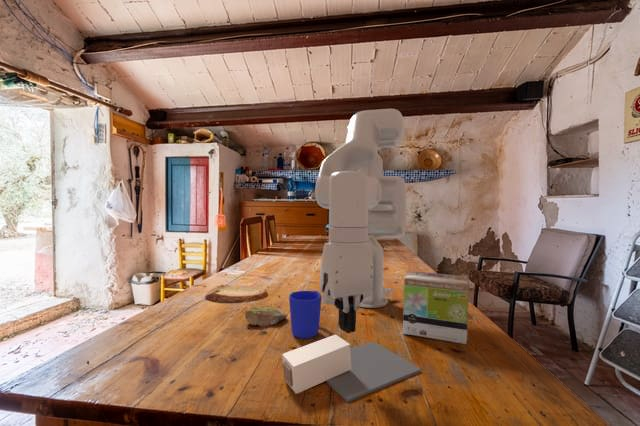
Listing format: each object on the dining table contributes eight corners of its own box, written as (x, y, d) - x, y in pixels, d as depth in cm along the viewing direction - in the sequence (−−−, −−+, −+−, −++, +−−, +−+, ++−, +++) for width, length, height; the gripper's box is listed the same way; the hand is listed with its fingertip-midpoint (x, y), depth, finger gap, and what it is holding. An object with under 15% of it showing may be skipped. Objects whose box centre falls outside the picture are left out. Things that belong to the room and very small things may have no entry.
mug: (329, 324, 82) (330, 288, 82) (314, 343, 71) (315, 301, 70) (302, 320, 85) (302, 285, 84) (283, 338, 73) (283, 298, 73)
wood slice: (272, 295, 109) (272, 285, 109) (230, 309, 94) (230, 297, 94) (241, 287, 120) (241, 278, 120) (199, 297, 106) (199, 287, 105)
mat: (373, 343, 71) (373, 341, 71) (420, 372, 59) (420, 369, 59) (306, 364, 61) (306, 361, 61) (347, 402, 49) (347, 399, 49)
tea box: (402, 335, 75) (403, 277, 75) (405, 321, 85) (406, 269, 84) (468, 345, 70) (469, 283, 70) (463, 329, 80) (464, 274, 79)
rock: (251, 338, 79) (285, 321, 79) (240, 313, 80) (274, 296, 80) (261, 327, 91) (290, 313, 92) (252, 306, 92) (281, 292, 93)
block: (335, 334, 62) (280, 354, 55) (349, 344, 57) (291, 367, 51) (337, 357, 62) (282, 380, 56) (351, 369, 58) (293, 395, 51)
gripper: (365, 232, 64) (364, 316, 65) (304, 236, 57) (304, 331, 57) (390, 235, 58) (389, 329, 59) (325, 240, 50) (324, 347, 51)
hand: (347, 329), depth 58 cm, fingers closed
